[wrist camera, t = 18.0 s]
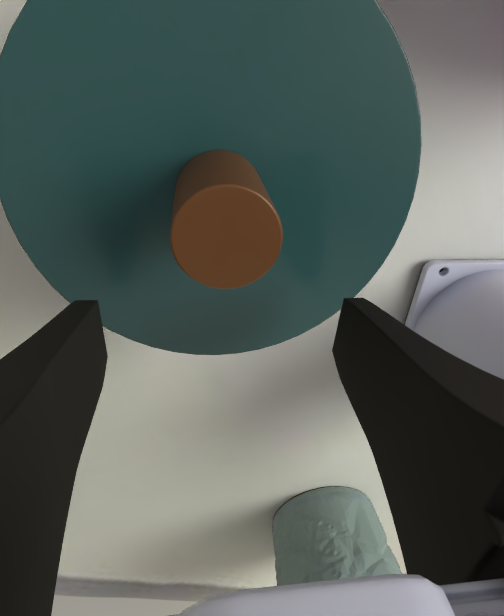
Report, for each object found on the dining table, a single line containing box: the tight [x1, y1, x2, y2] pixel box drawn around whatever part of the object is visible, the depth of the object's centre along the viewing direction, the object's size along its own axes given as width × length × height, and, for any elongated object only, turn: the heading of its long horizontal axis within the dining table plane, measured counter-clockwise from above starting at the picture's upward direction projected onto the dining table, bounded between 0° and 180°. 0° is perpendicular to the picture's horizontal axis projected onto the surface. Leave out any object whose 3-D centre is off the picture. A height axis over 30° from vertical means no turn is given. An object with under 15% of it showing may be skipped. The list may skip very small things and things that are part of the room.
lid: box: [0, 0, 421, 355], centre depth 11 cm, size 12×12×4 cm
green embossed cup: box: [273, 487, 402, 586], centre depth 29 cm, size 10×10×12 cm
